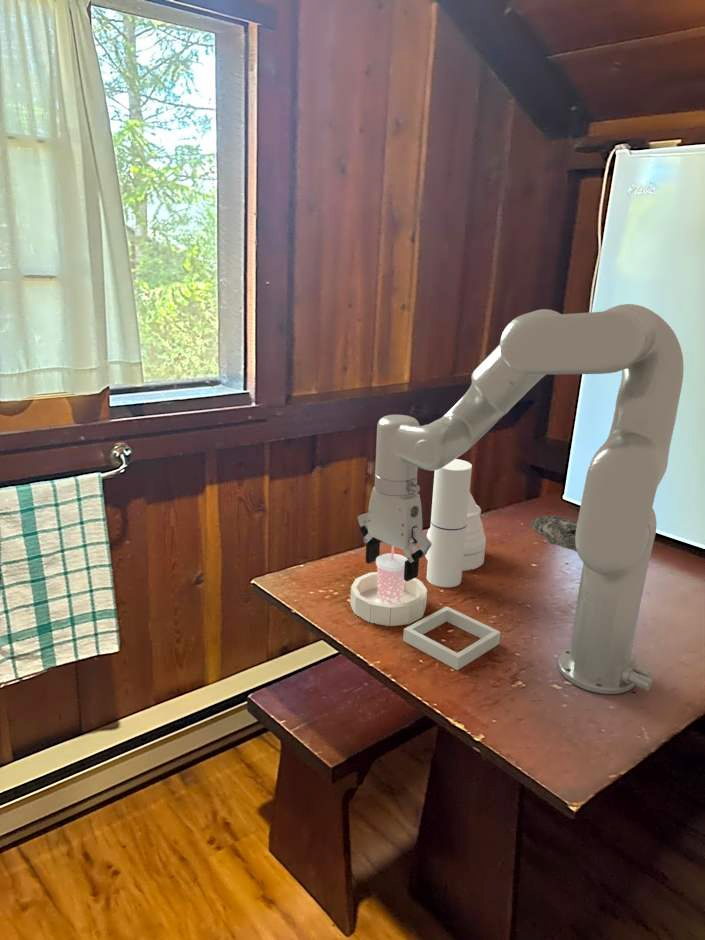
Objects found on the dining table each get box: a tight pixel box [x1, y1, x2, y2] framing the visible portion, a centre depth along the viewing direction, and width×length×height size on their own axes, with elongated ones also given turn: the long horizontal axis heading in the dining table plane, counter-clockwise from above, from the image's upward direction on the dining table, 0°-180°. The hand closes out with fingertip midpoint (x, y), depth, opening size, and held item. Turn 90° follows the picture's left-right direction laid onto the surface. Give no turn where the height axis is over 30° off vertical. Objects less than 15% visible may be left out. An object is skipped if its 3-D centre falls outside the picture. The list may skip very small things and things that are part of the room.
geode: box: [529, 514, 577, 552], centre depth 178 cm, size 19×4×15 cm
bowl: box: [349, 571, 428, 627], centre depth 143 cm, size 14×14×4 cm
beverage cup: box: [375, 545, 408, 605], centre depth 141 cm, size 6×6×14 cm
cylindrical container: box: [426, 458, 473, 588], centre depth 151 cm, size 7×7×25 cm
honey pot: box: [424, 492, 487, 572], centre depth 162 cm, size 13×13×18 cm
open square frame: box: [402, 606, 502, 671], centre depth 132 cm, size 12×12×2 cm
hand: (391, 569), depth 141 cm, fingers open, 9 cm apart
